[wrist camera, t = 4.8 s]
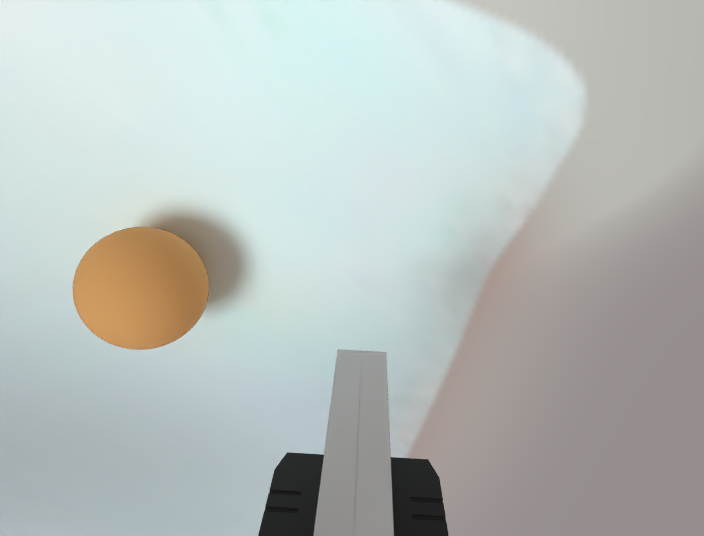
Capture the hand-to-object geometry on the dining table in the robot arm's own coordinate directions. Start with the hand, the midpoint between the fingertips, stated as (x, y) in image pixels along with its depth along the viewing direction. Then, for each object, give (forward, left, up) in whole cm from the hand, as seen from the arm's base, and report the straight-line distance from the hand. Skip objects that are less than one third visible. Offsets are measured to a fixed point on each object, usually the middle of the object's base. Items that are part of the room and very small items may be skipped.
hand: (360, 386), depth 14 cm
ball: (0, +10, -6) cm, 12 cm away
